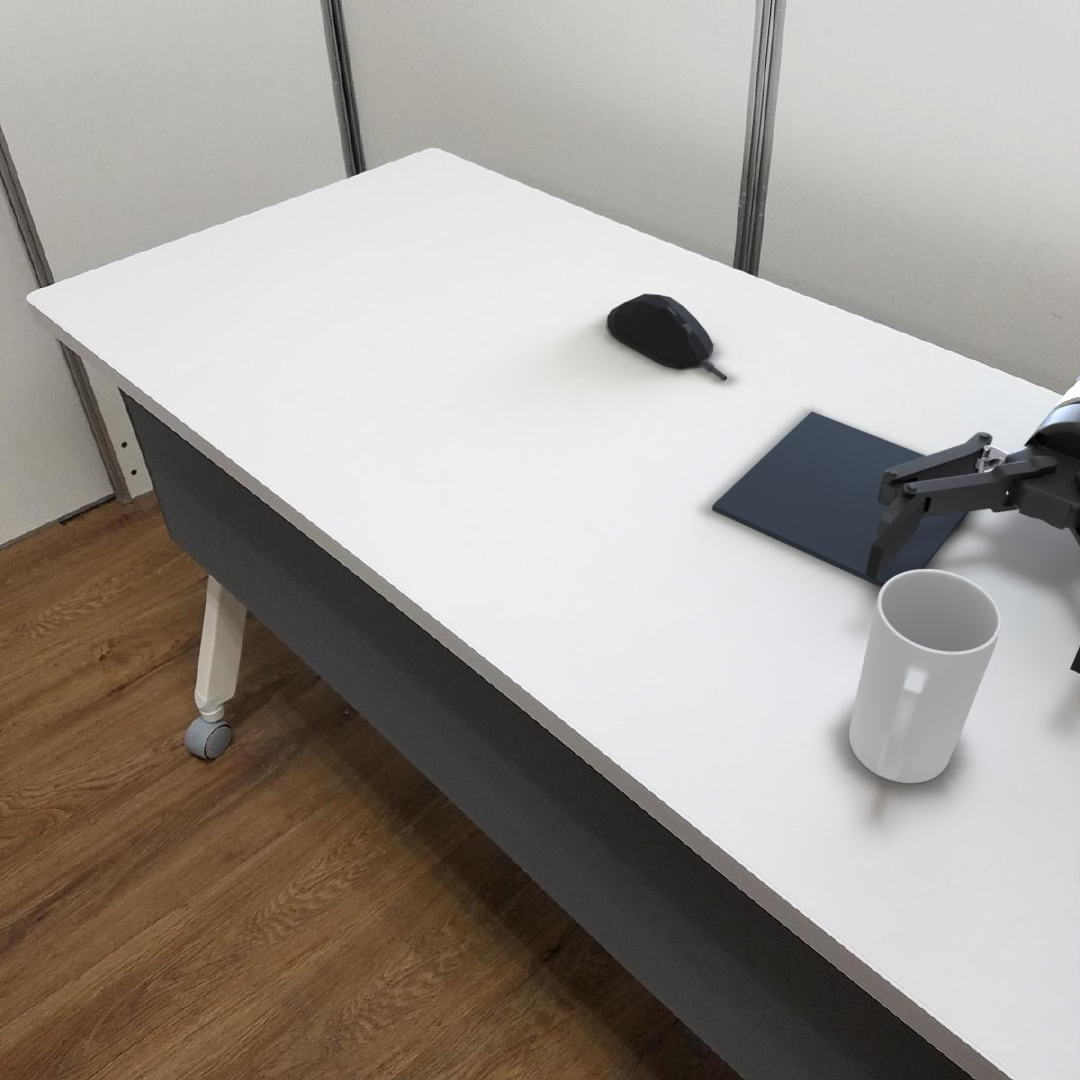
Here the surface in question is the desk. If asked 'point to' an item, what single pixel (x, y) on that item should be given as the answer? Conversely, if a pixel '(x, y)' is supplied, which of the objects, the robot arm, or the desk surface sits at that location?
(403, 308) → the desk surface
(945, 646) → the mug
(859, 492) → the mat
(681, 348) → the gaming mouse
